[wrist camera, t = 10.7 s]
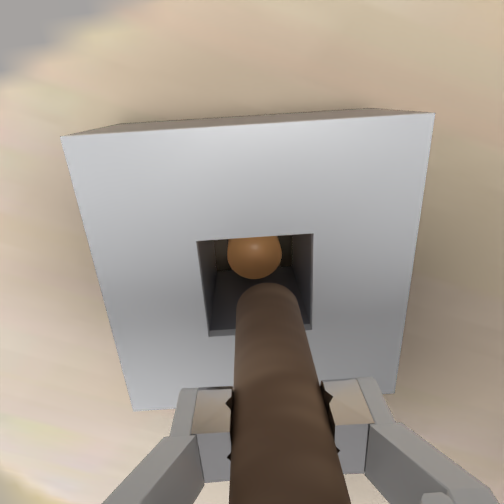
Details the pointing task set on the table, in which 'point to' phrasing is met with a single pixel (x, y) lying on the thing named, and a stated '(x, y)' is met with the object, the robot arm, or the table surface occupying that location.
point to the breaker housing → (252, 225)
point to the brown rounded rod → (279, 408)
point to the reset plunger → (254, 256)
